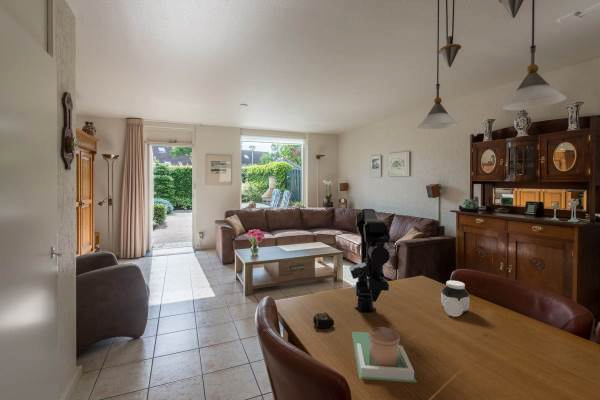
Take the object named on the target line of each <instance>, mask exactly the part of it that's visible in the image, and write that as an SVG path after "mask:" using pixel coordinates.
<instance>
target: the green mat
mask: <svg viewBox="0 0 600 400" xmlns="http://www.w3.org/2000/svg"><path fill="white" fill-rule="evenodd" d="M351 337H352V342H353V348H354V356H355V360H356V368H357V373H358V378H359V379H361V380H373V381H374V380H375V381H388V382H400V383H401V382H403V383H404V382H405V383H418V381H417V379H416V377H415V376H414V380H400V379H386V378H371V377H361V374H360V368H359V362H358V357H357V343H359V344H361V348H362V353H363V358H364V362H365V365H366V366H370V364H369V352H370V338H369V331H368V332H364V331H351ZM399 346H401V344H400V343H399ZM398 368H404V366H403V364H402V361H401V359H400V357H399V354H398Z"/></svg>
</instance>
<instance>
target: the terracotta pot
mask: <svg viewBox="0 0 600 400" xmlns="http://www.w3.org/2000/svg"><path fill="white" fill-rule="evenodd" d="M368 333H369V338H370V352H369V364H370V366H382V367H398V347H399V344H400V340H401V339H400V334H399V332H397V331H395V330H394V329H391V328H389V327H384V326H376V327H373V328H370V329H369V331H368Z"/></svg>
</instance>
